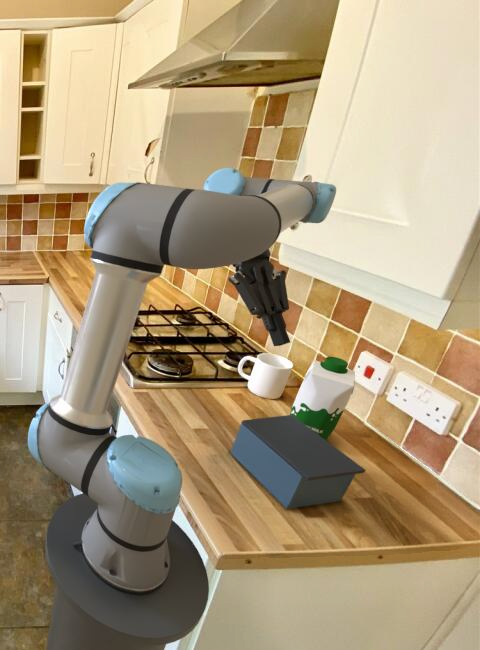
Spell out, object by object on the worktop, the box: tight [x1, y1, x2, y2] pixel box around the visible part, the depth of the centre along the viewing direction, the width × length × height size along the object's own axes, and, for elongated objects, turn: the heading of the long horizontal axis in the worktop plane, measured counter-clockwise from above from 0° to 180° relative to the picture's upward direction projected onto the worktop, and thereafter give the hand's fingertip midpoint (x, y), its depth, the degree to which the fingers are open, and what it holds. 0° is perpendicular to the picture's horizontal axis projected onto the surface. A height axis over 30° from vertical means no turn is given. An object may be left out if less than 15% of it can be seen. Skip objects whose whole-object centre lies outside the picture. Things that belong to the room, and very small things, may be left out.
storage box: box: [230, 422, 357, 510], centre depth 88 cm, size 16×13×9 cm
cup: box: [237, 352, 294, 400], centre depth 117 cm, size 8×12×10 cm
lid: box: [241, 414, 366, 481], centre depth 85 cm, size 17×13×1 cm
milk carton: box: [289, 356, 356, 441], centre depth 98 cm, size 9×9×20 cm
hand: (282, 344), depth 87 cm, fingers closed
